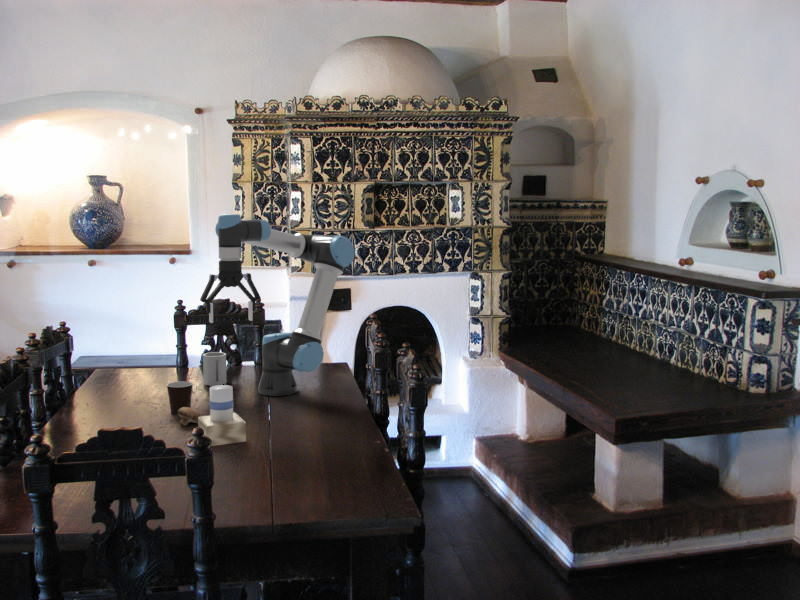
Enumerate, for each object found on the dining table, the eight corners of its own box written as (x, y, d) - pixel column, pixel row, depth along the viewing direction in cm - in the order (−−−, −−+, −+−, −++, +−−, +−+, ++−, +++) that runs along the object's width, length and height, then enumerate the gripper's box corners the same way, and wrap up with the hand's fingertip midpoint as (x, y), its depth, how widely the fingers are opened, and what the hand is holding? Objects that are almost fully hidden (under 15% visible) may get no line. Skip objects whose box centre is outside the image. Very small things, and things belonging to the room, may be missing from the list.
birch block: (236, 430, 243) (235, 412, 242) (246, 441, 232) (245, 421, 231) (198, 435, 237) (198, 416, 236) (206, 446, 227) (206, 426, 226)
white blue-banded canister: (230, 414, 239) (229, 384, 237) (236, 420, 232) (235, 389, 231) (207, 417, 235) (206, 386, 234) (212, 423, 229) (212, 391, 228)
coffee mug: (186, 416, 259) (185, 387, 257) (163, 414, 260) (162, 386, 259) (201, 407, 270) (200, 380, 269) (179, 406, 272) (178, 378, 270)
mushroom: (175, 419, 243) (183, 402, 246) (170, 422, 250) (179, 405, 253) (197, 429, 245) (205, 412, 248) (193, 432, 252) (200, 415, 255)
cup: (216, 379, 313) (215, 351, 312) (231, 382, 308) (230, 354, 306) (198, 383, 306) (198, 354, 304) (213, 386, 301) (213, 357, 299)
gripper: (262, 258, 264) (263, 317, 267) (190, 259, 253) (192, 321, 256) (269, 259, 258) (269, 320, 260) (195, 261, 246) (196, 325, 249)
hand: (231, 321), depth 258 cm, fingers open, 13 cm apart
